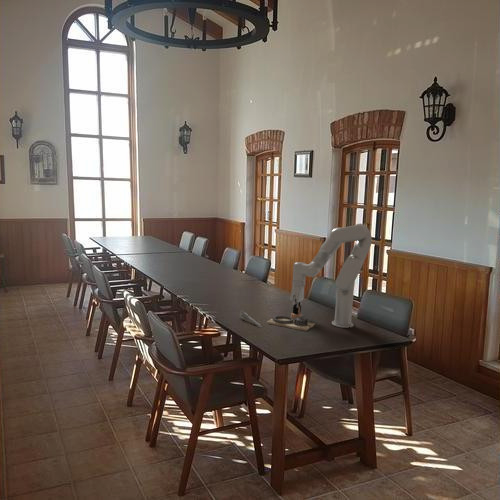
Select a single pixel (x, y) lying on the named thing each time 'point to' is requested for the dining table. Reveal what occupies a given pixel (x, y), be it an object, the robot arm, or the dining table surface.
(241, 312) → the caliper
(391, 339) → the dining table surface
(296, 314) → the planet gear
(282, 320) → the carrier
